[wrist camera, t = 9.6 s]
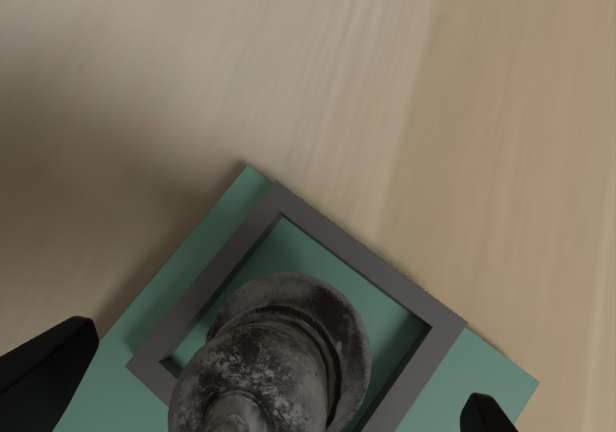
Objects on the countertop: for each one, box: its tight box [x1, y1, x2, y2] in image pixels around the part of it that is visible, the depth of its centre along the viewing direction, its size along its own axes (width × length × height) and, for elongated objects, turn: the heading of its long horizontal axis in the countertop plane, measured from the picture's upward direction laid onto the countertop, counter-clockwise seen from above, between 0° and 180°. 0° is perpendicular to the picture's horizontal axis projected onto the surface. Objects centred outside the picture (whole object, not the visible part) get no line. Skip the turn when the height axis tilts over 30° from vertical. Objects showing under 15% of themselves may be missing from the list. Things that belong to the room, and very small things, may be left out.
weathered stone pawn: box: [168, 272, 372, 432], centre depth 11 cm, size 6×6×12 cm
